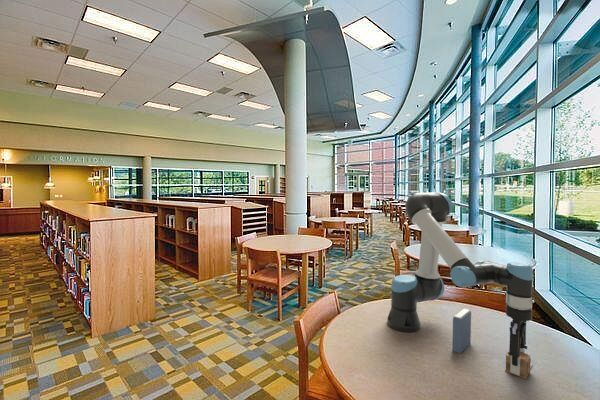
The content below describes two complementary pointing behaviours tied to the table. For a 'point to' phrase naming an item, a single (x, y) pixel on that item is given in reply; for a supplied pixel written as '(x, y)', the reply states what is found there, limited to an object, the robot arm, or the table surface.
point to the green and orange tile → (514, 374)
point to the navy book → (461, 330)
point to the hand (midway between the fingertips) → (517, 369)
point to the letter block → (524, 364)
